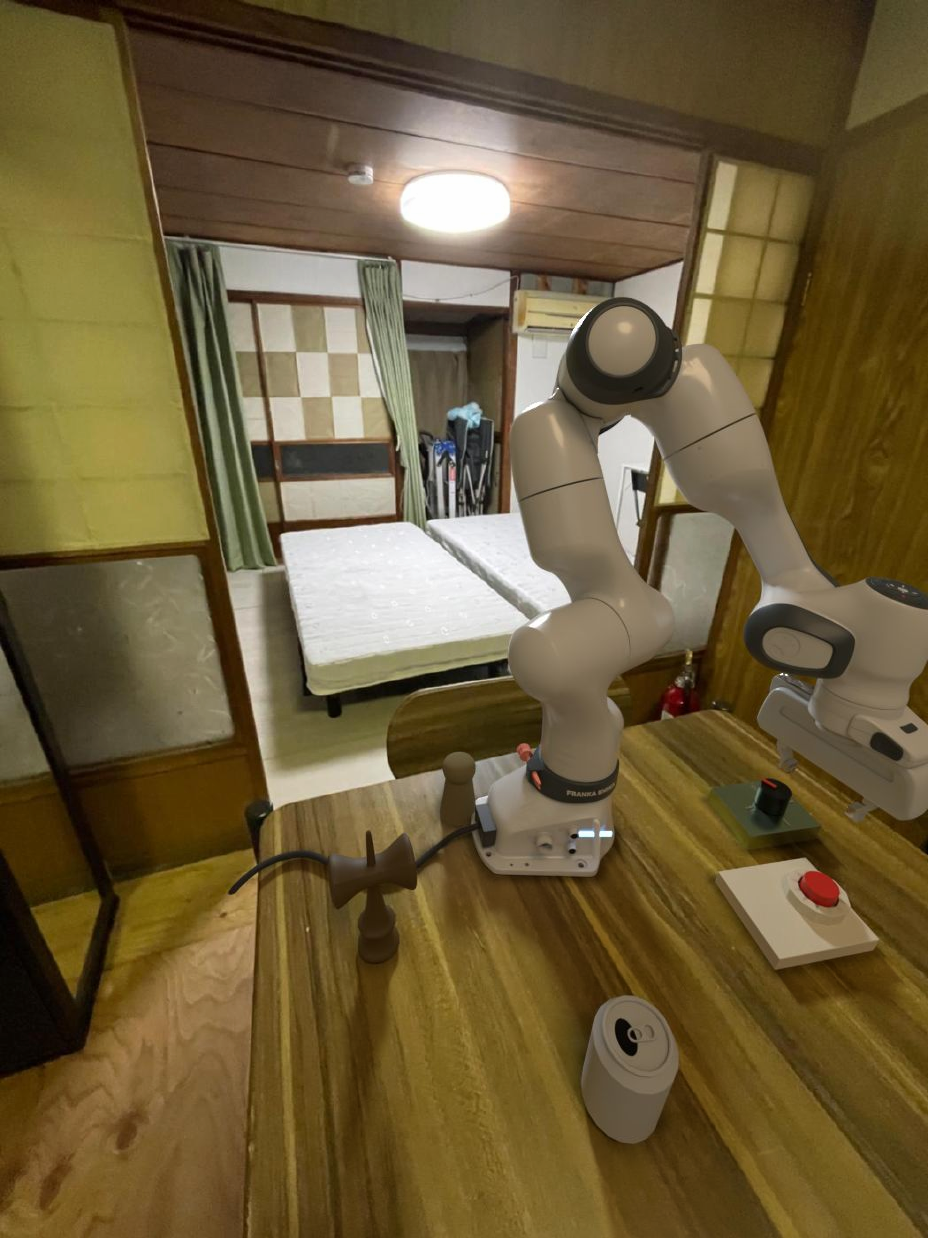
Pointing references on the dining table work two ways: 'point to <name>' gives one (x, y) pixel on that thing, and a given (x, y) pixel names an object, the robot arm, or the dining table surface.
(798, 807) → the dial plate
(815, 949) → the white button base
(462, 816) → the brown wooden peg doll
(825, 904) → the power button
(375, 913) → the kendama
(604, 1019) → the can
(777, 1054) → the dining table surface
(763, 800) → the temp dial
